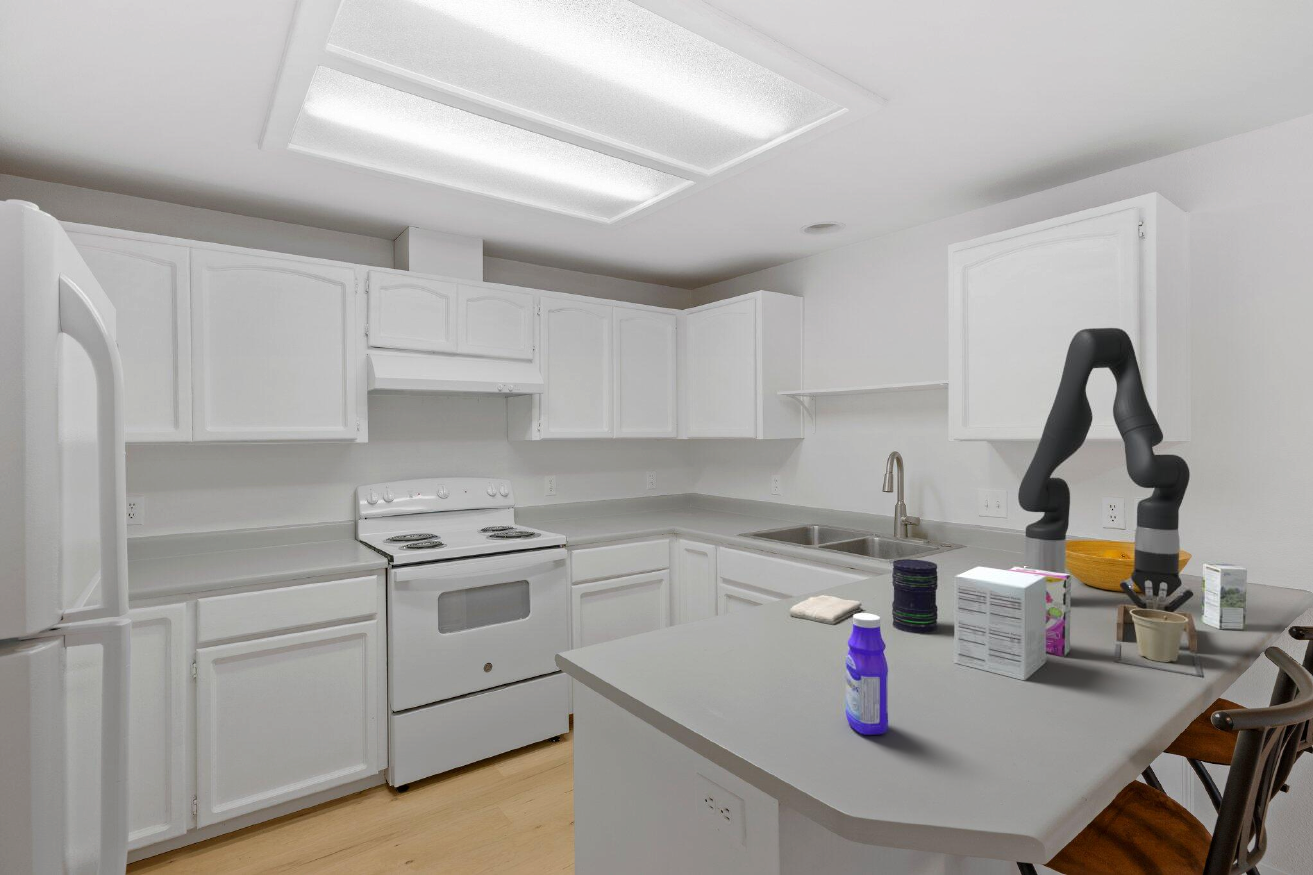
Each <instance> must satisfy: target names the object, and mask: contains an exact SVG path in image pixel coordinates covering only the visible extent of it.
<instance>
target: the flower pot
mask: <svg viewBox="0 0 1313 875" xmlns="http://www.w3.org/2000/svg"><path fill="white" fill-rule="evenodd" d="M1130 614H1131V615H1132V620H1133V621H1134V629H1135V635H1136V636H1135V637H1136V644H1137V653H1138V655H1139V656H1140V657H1145V658H1147V659H1148V660H1150V661H1155V662H1161V663H1169V662H1173V663H1174V662H1177V660H1178V658H1179V657H1178V655H1179V651H1180V645H1181V640H1182V635H1183V632H1184V631H1183V629H1184V628H1185V625H1186V623H1187V622H1188V619H1187V618H1186V617H1184V616H1181V615H1178V614H1175V613H1171V612H1166V611H1160V610H1152V609H1133V610H1130Z"/></svg>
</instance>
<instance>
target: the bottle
mask: <svg viewBox="0 0 1313 875" xmlns="http://www.w3.org/2000/svg"><path fill="white" fill-rule="evenodd" d="M847 645H848V647H849V650H848V651H847V654H846V657H845V665H846V667H845V669H846V670H845V673H846V674H845V678H846V679H845V680H846V681H845V716H846V719H847V722H848V724H849V726H850V727H851V728H852V729H853V730H854V731H856V732H857V733H859V734H861V735H869V736H870V735H871V736H873V735H874V736H875V735H876V736H877V735H882V734H884V733H886V732H887V730H888V727H889V697H888V696H889V690H888V689H889V687H888V685H889V684H888V682H889V681H888V680H889V679H888V675H889V668H888V667H889V666H888V661H887V659H886V655H885V653H884V652H885V650H886V646H887V645H886V642H885V641H884V640H883V638H882V633H881V617H880V616H878V615H876V614H873V613H867V612H860V613H859V612H857V613H854V614H852V631H851V634H850V637H849V639H848V640H847Z"/></svg>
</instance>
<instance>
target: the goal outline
mask: <svg viewBox="0 0 1313 875" xmlns="http://www.w3.org/2000/svg"><path fill="white" fill-rule="evenodd" d="M1120 655H1121V644H1120V643H1115V650H1114V658H1113V662H1115V663H1119V664H1123V665H1124V664H1125V665H1131V666H1137V667H1142V668H1147V669H1154V670H1158V671H1165V672H1171V673H1176V674H1182V675H1188V676H1191V677H1192V676H1193V677H1200V678H1204V674H1203V671H1202V667H1201V664H1200V663H1201V662H1200V658H1199V656H1196V655H1193V656H1192V658H1193V662H1194V666H1195V671H1196V673H1191V672H1187V671H1181V670H1174V669H1170V668H1169V669H1168V668H1165V667H1163V668H1162V667H1159V666H1158V667H1157V666H1153V665H1152V666H1151V665H1147V664H1140V663H1136V662H1135V663H1134V662H1128V661H1124V660H1123V661H1122V660H1120V657H1121V656H1120Z"/></svg>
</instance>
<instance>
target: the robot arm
mask: <svg viewBox="0 0 1313 875" xmlns="http://www.w3.org/2000/svg"><path fill="white" fill-rule="evenodd" d="M1133 345H1134V344H1133V342H1132V340H1131V338H1130V335H1129V334H1128V332H1126V330H1124V329H1122V328H1118V327H1101V328H1083V329H1081V330H1078V331H1077V333H1075V335H1074V336H1073V338H1072V339H1071V341H1070V343H1069V346H1068V349H1067V352H1066V353H1067V354H1066V357H1065V362H1064V366H1063V371H1062V373H1061V378H1060V379H1061V380H1060V383H1059V386H1058V389H1057V392H1056V395H1055V398H1054V401H1053V403H1052V406H1051V409H1050V411H1049V414H1048V417H1047V419H1046V422H1045V425H1044V428H1043V431H1042V434H1041V437H1040V440H1039V443H1038V446H1037V448H1036V451H1035V453H1034V456H1033V457H1032V459H1031V462H1030V464H1029V466H1028V468H1027V469H1026V472H1025V474H1024V476H1023V478H1022V480H1021V481H1020V486H1019V489H1018V492H1017V493H1018V494H1017V495H1018V496H1017V498H1018V499H1017V500H1018V503H1019V506H1020V507H1021V509H1022V510H1024V511H1026V512H1032V513H1043V516H1042V517H1041V518H1040V519H1038V520H1037V521H1035V522H1032V523H1030V524H1028V525H1026V527H1025V548H1024V549H1025V552H1024V554H1025V555H1024V556H1025V563H1024V566H1023V568H1028V569H1035V570H1042V571H1049V572H1056V573H1064V574H1067V573H1066V568H1067V566H1066V565H1067V564H1066V563H1067V561H1066V558H1067V557H1066V556H1067V555H1066V554H1067V553H1066V552H1067V548H1066V547H1067V546H1066V545H1067V543H1066V542H1067V538H1066V537H1067V532H1068V529H1069V523H1070V506H1071V492H1070V488H1069V485H1068V483H1067V482H1066V481H1065V479H1063V478H1060V477H1051V476H1052V474H1053V473H1054V471H1055V470H1056V469H1058V467H1059V466H1060V465H1062V464H1063V463H1064V462H1065V461H1067V460H1068V459H1069V458H1071V456H1073V455H1074V454H1075V453H1076V452H1077V451H1078V450H1079V449H1080V448H1081V447H1082V446H1083V444H1084V442H1085V440H1086V438H1087V436H1088V433H1089V431H1090V428H1091V426H1092V422H1093V412H1092V407H1091V405H1090V403H1089V402H1090V401H1089V399H1088V396H1087V385H1088V381H1089V378H1090V375H1091V373H1092V371H1093V370H1094V369H1106V368H1107V369H1109V371H1110V372H1111V373H1112V375H1113V377H1114V379H1115V382H1116V392H1115V396H1114V400H1113V405H1112V416H1113V419H1114V423H1115V425H1116V427H1117V430H1118V432H1119V434H1120V436H1121V438H1122V441H1123V443H1124V453H1125V463H1126V470H1127V474H1128V477H1129V478H1130V479H1131V481H1132V482H1133V483H1134V484H1135V485H1137V486H1138V487H1140V488H1144V489H1154V490H1153V492H1152V494H1151V496H1149V497H1146V498H1144V499H1142V500H1139V501H1138V503H1137V508H1136V528H1135V529H1136V530H1135V534H1134V560H1133V561H1134V562H1133V564H1134V565H1133V566H1134V568H1133V572H1132V573H1131V575H1130V577H1129V578H1127V579H1126V580H1121V581H1119V586H1120V588H1121V589H1122V590H1123V592H1124V593H1125V594H1126V595H1127V597H1128V598H1129V599H1130V600H1131V601H1132V602H1133V603H1134V606H1137V607H1139V608H1142V609H1152V610H1154V609H1156V610H1160V611H1166V612H1174V611H1176V610H1178V609H1179V608H1180V607H1181V606H1183V605H1184V604H1185V603H1186V602H1187V601H1188V600H1189V601H1190V599H1191V598H1192V597H1193V596H1194V591H1193V590H1192V589H1191V588H1189V587H1187V586H1186V585H1184V584H1183V583H1182V579H1181V578H1180V573H1179V572H1180V549H1181V546H1180V544H1181V543H1180V535H1179V534H1180V533H1179V523H1180V522H1179V520H1180V519H1179V518H1180V517H1179V516H1180V513H1179V511H1180V507H1181V505H1182V503H1183V500H1184V497H1185V494H1186V491H1187V488H1188V485H1189V482H1190V476H1191V474H1190V469H1189V465H1188V463H1187V462H1186V460H1184V458H1183V457H1181V456H1179V455H1176V454H1155V453H1154V450H1153V448H1154V447H1155V446H1157V445H1160V443H1162V441H1163V440H1164V434H1163V431H1162V429H1161V427H1160V425H1159V422H1158V420H1157V418H1156V416H1155V414H1154V412H1153V410H1152V407H1151V405H1150V402H1149V401H1148V399H1147V398H1148V397H1147V395H1146V392H1145V388H1144V384H1143V381H1142V376H1141V371H1140V369H1139V364H1138V361H1137V360H1138V359H1137V357H1136V352H1135V348H1134V346H1133ZM1134 584H1135V585H1136V587H1137V588H1138V590H1139V591H1140V592H1141V593H1142V594H1144V595H1145V601H1143V599H1141V597H1140V596H1139V595H1138V594H1137V593H1136V591H1134V589H1135V586H1134ZM1176 591H1177V594H1178V595H1177V596H1176V597H1175V598H1174V599H1173V600H1172V601H1170V602H1169V603H1168V604H1166V599H1167V598H1168V597H1170V596H1171V595H1173V593H1175V592H1176ZM1154 596H1155V597H1157V600H1156V607H1155V608H1154Z"/></svg>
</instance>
